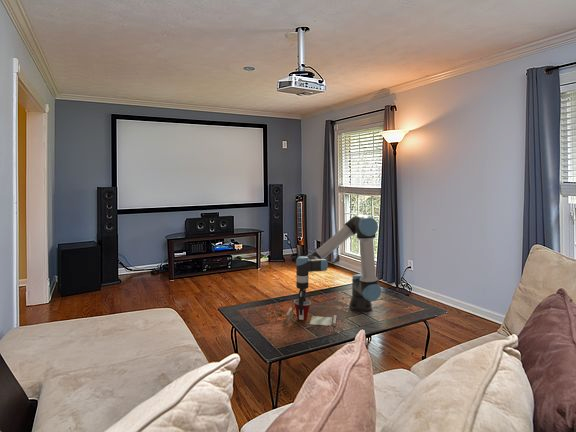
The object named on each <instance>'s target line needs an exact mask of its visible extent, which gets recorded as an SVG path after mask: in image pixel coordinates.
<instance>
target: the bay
mask: <svg viewBox="0 0 576 432" xmlns="http://www.w3.org/2000/svg"><path fill="white" fill-rule="evenodd" d="M292 316H293V307H289V308H288V311H287V312H286V314H285V323H286V324H289V323H290V321H291V319H292ZM336 324H337V314H334V315H333V317H332V316H319V315H318V316H316V315H314V316H313V315H312V316H311V319H310V321H309V325H310V326H311V325H312V326H322V327H323V326H324V327H326V326H327V327H331V326H332V327H336Z"/></svg>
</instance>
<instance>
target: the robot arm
mask: <svg viewBox="0 0 576 432" xmlns="http://www.w3.org/2000/svg"><path fill="white" fill-rule="evenodd" d="M378 229H379V224H378V222H377V220H376V219H375V218H373V217H372V216H370V215H365V214H356V215H355V216H353V217H352V218H350V219H349V220H347V222H345V223H344V224H343V227H342V228H340V230H338V231H337V232H336V233H335V234H333V235H332V236H331V237H329V239H328V240H327V241H325V242H324V243H323V244H322V245H321V246H320V247H318V248H317V249H316V250H314V252H313V253H309V254H307V255H306V256H305V255H302V256H301V255H299V256H297V258H296V261H295V262H296V263H295V266H296V267H295V268H296V270H295V271H296V275H295V278H296V282H295V283H296V285H295V286H296V289H299V291H298V299H299V308H298V310H299V320H304V309H303V303H304V301H305V299H307V290H306V289H309V273H312V272H313V273H314V272H315V273H316V272H326V271H327V270H328V268H329V263H328V260H327V259H326V257H328V256H329V255H330V254H331V253H333V251H335V250H336V249H337V248H338V247H340V246H342V244H343V243H344V242H345V241H347V240H349V238H350V237H353V236H355V235H356V238H357V240H358V241H359V251H360V252H359V253H360V255H359V256H360V267H361V269H360V270H361V273H357V274H354V275H352V278H351V284H352V285H351V289H352V290H351V291H352V292H351V298H350V301H349V306H348V307H349V309H350V310H352V311H355V312H369V311H371V310H373V305H372V302H374V301H377V300H378V299H379V298H380V297H381V294H382V288H381V286H380V285H379V277H377V276H376V264H375V261H376V260H375V248H374V247H375V245H374V243H375V242H374V240H375V239H376V237H377V236H376V234H377V232H378Z"/></svg>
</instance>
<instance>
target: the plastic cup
mask: <svg viewBox="0 0 576 432" xmlns="http://www.w3.org/2000/svg"><path fill="white" fill-rule="evenodd" d="M293 303H294V307H295V313H296V319H297V321H299V322H305V321H307V319H308V315H309V308H310V306H311V303H312V302H311V300H310V299H308V298H306V299H305V301H304V303H303V309H304V320H299V310H298V308H299V298H296V299H294V300H293Z"/></svg>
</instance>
